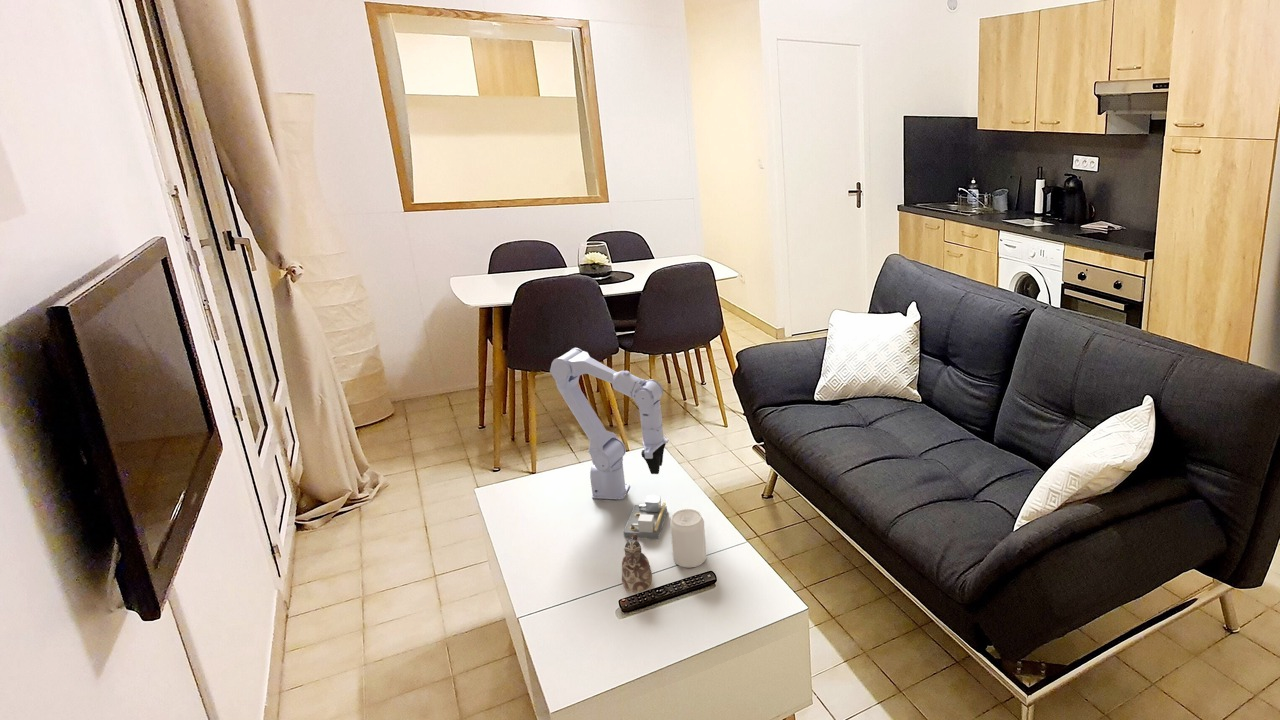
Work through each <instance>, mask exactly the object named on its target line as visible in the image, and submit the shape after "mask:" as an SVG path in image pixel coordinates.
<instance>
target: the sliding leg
mask: <svg viewBox="0 0 1280 720" xmlns="http://www.w3.org/2000/svg"><path fill="white" fill-rule="evenodd" d="M644 502H645V503H644V504H638V505H639V508H646V511H650V512H659V511H660V508H661V506H662V501H661V496H659V495H657V496H656V495H647V496H646V499H645V501H644Z"/></svg>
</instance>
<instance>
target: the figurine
mask: <svg viewBox="0 0 1280 720" xmlns="http://www.w3.org/2000/svg"><path fill="white" fill-rule="evenodd" d="M623 551H624V556H623V558H622V562H621V573H622V574H621V583H622V585H623V587H624V588H625V590H626V591H627V592H628V593H634V594H638V593H642V592H645V591H647V590H649V589H650V587H651V586H652V583H653V573H652V568H651V565H650V562H649V560H648V559H649V558H648V557H647V556H646V555H645V554H644V553H642V545H641V543H640V542H639V540H638V538H637V535H635V534H633V538H632V539H629V540H627V542H626V543H625V545H624V548H623ZM641 591H642V592H641ZM637 592H638V593H637Z"/></svg>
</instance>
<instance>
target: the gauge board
mask: <svg viewBox="0 0 1280 720" xmlns="http://www.w3.org/2000/svg"><path fill="white" fill-rule="evenodd" d="M639 505H640V504H634V506H633V508H632V511H631V513H630V516H629V519H628V521H627V523H626V526H625V529H624V531H623V537H624V538H630V539H631V538H633V534H635V535H637V539H649V540H651V539H652V540H659V537H660V534H661V532H662V531H661V530H662V528H663V525H664V522H665V519H666V516H667V512H668V508H667V507H668V506H667V505H666V502H663V503H662V504H661V508H660V511H659V512H650V511H646V508H639Z"/></svg>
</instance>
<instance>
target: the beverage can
mask: <svg viewBox="0 0 1280 720" xmlns="http://www.w3.org/2000/svg"><path fill="white" fill-rule="evenodd" d="M669 523H670V525H669V526H670V535H671V536H670V537H671V548H672V556H673V557H672V558H673V562H674V563H675V564H677V565H678V566H680V567H683V568H696V567H699V566H700V565H702V564H703V563H704V562H706V559H707V545H706V544H707V543H706V530H705V519H704V517H703V516H702V514H701V513H700V511H698V510H696V509H689V508H687V509H686V508H685V509H679V510H677V511H676V512H674V513H673V514H672V517H671V519H670V522H669Z"/></svg>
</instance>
